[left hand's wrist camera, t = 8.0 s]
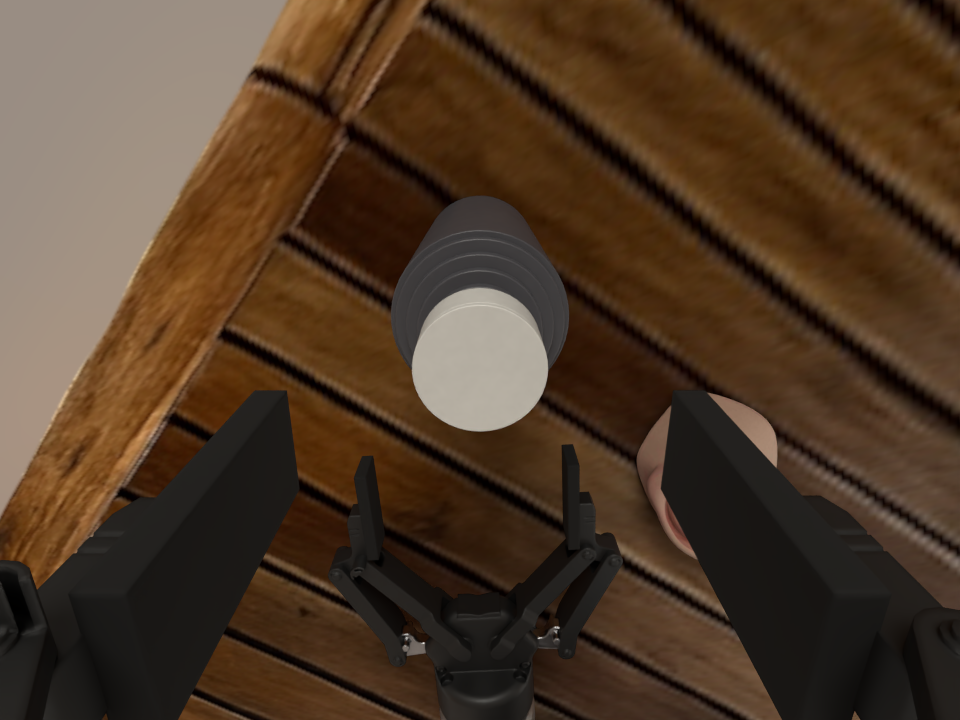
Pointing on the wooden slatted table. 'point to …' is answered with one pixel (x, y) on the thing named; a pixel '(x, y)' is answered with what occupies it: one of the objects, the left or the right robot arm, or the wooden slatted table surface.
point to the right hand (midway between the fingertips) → (466, 459)
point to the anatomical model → (654, 454)
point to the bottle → (480, 271)
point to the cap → (480, 360)
